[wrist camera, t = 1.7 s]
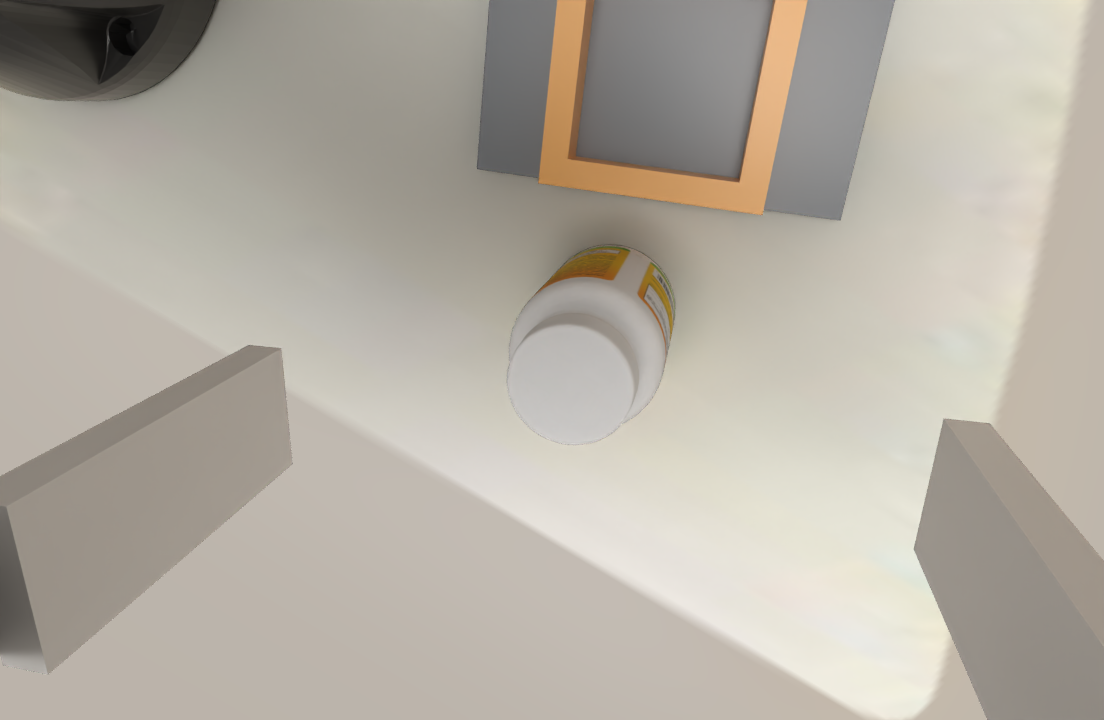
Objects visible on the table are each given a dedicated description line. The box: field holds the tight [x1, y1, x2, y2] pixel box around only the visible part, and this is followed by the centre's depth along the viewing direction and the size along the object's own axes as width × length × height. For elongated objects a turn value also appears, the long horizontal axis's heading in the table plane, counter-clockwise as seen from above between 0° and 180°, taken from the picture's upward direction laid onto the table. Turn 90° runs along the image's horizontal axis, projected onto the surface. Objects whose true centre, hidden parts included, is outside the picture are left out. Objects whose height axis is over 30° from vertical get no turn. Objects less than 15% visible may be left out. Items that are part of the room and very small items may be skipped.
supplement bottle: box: [507, 245, 675, 445], centre depth 27 cm, size 5×5×10 cm
